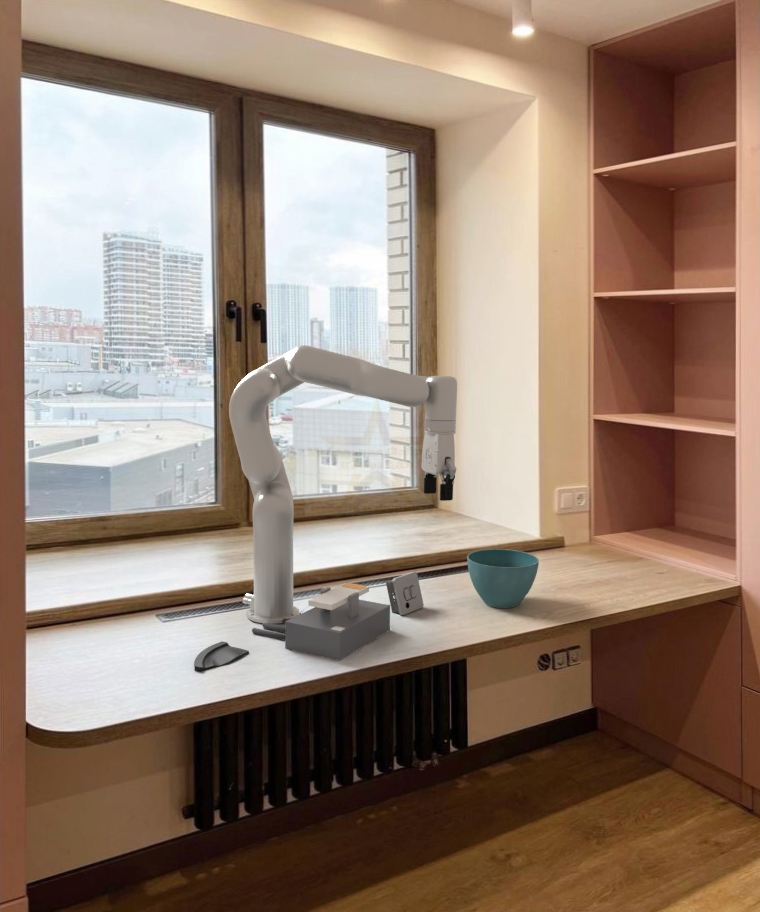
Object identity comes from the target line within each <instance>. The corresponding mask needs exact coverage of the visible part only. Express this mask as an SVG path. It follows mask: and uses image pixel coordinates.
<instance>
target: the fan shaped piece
mask: <svg viewBox="0 0 760 912" xmlns="http://www.w3.org/2000/svg"><path fill="white" fill-rule="evenodd" d="M249 654H250V651H249V650H247V649H243V648H239V647H235V646H231V645H230V644H229V643H228V642H227V641H219V642H216V643H214V644H212V645H210V646H207V647H206V648H204V649H203V650H202V651H200V652H199V653H198V654H197V655H196V657H195V659H194V662H193V666H194V671H195V672H205V671H207V670H208V671H209V670H210V669H215V668H220V667H225V666H228V665H230V664H232V663H234V662H237V661H238V660H240V659H242V658H243V657H245V656H247V655H249Z"/></svg>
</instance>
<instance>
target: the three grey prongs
mask: <svg viewBox="0 0 760 912" xmlns="http://www.w3.org/2000/svg"><path fill="white" fill-rule="evenodd" d="M287 620H289V619H283V620H282V623H281V624H284V625H285V621H287ZM262 628H263V629H261V628H257V627H253V628H252V629H251V633H252V634H256V635H260V636H265V637H270V638H274V639H278V640H282V641H285V626H282V625H281V626H280V625H277V624H268V623H262ZM265 629H266V630H265ZM270 630H271V631H270ZM275 631H277V632H275ZM283 633H284V634H283Z"/></svg>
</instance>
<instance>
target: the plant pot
mask: <svg viewBox="0 0 760 912" xmlns="http://www.w3.org/2000/svg"><path fill="white" fill-rule="evenodd" d="M466 560H467V569H468V574H469V577H470V581H471V582H472V585H473V588H474V589H475V591H476V593H477V594H478V595H479V597H480V599H481V600H482V601H483V602H484V603H485V605H487V606H488V607H492V608H496V609H511V607H512V608H515V607H517V606H518V605H519V604H520V603H521V602H522V601H523V600H524V599H525V597H526V596H527V595H528V594H529V592H530V590H531V588H532V587H533V585H534V582H535V580H536V576H537V573H538V570H539V562H540V559H539V558H538V557H537V556H536V555H534V554H531V553H529V552H525V551H520V550H516V549H507V548H506V549H504V548H492V549H491V548H488V549H479V550H476V551H475V550H474V551H472V552H470V553H468V555H467V557H466Z"/></svg>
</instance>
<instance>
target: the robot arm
mask: <svg viewBox="0 0 760 912" xmlns="http://www.w3.org/2000/svg"><path fill="white" fill-rule="evenodd" d="M304 383H307V384H311V385H315V386H319V387H324V388H328V389H331V390H336V391H339V392H343V393H347V394H351V395H354V396H361V397H367V398H371V399H377V400H380V401H385V402H388V403H393V404H397V405H400V406H404V407H408V408H419V407H420V406H423V405H425V406H424V431H423V432H424V435H423V440H422V441H423V442H422V449H421V450H422V451H421V452H422V453H421V465H420V466H421V469H422V471H423V494H426V495H427V494H428V495H429V494H436V493H437V478H438V477H437V476H438V475H439V478H440V482H441V483H440V484H439V500H440V501H441V502H443V501H444V502H447V501H448V502H449V501H453V499H454V497H453V496H454V483H455V478H456V472H457V467H456V465H455V463H456V460H455V459H456V458H455V457H456V455H455V454H456V453H455V452H456V451H455V448H456V447H455V446H456V445H455V435H456V431H457V430H456V429H457V403H458V401H457V400H458V399H457V398H458V380H457V378H456V377H454V376H450V375H430V376H424V375H417V374H411V373H408V372H404V371H399V370H395V369H392V368H388V367H385V366H380V365H378V364H375V363H371V362H369V361H367V360H364V359H361V358H358V357H353V356H351V355H346V354H342V353H338V352H334V351H330V350H326V349H322V348H319V347H314V346H312V345H311V346H310V345H298V346H295V347H294V348H292V349H290V350H289V351H287V352H286V353H284V354H283V355H281V356H279V357H277V358H276V359H273V360H271V361H270V362H267V363H266V364H264V365H262V366H260V367H258V368H257V369H254V370H252V371H251V372H249V373H248V374H247V375H246V376H245V377H243V378H242V379H241V381H240V382H238V384H237V385H236V387H235V388H234V390H233V392H232V394H231V396H230V400H229V404H228V416H229V421H230V427H231V430H232V434H233V437H234V442H235V446H236V449H237V452H238V456H239V461H240V464H241V465H240V466H241V470H242V473H243V474H244V476H245V477H246V479H247V481H248V483H249V486H250V490H251V493H252V496H253V499H254V501H253V505H252V530H253V531H252V538H253V539H252V540H253V541H252V542H253V552H252V553H253V594H252V593H246V594H244V596H243V598H242V604H245V605H249V609H248V610H247V614H246V615H247V618H248V619H249V620H250V621H253V622H255V623H259V624H264V623H268V624H273V625H277V624H283V623H282V620H283V619H291V618H294V617H296V616H298V615H300V614H301V613H300V609H299V608H298V607H297V606H294V517H295V515H294V514H295V513H294V512H295V511H294V507H295V506H294V497H293V492H292V490H291V486H290V482H289V479H288V475H287V473H286V468H285V464H284V462H283V457H282V454H281V451H280V450H279V449H278V448H277V446H276V445H275V444H274V441H273V437H272V434H271V430H270V425H269V423H268V419H267V415H266V412H267V408H268V405H270V404H271V403H272V402H274V401H276V399H277V398H279V397H281V396H282V395H285V394H286V393H288V392H290V391H292V390H294V389H295V388H298V387H299V386H301V385H302V384H304Z"/></svg>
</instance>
